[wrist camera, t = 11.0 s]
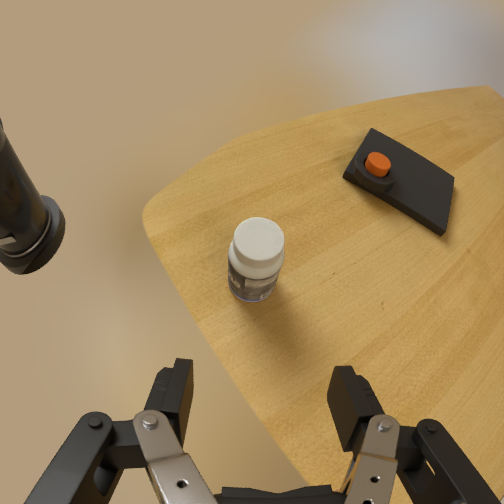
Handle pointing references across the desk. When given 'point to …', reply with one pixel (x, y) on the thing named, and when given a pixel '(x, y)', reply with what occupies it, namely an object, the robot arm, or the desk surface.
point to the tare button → (377, 164)
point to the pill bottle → (255, 259)
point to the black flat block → (405, 181)
